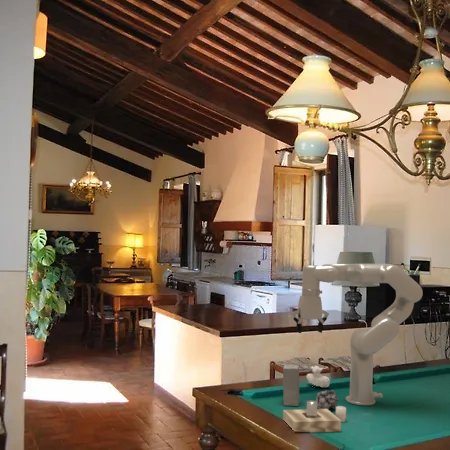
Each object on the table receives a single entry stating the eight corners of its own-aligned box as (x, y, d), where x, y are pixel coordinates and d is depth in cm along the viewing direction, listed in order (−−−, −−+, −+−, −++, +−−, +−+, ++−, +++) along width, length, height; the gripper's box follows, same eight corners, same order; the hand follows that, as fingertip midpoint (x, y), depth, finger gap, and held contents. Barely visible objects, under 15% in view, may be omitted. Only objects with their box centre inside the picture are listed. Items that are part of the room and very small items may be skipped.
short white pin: (343, 418, 229) (343, 405, 229) (347, 421, 225) (347, 409, 225) (333, 418, 229) (334, 406, 229) (337, 422, 225) (338, 409, 225)
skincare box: (298, 407, 242) (299, 369, 242) (281, 405, 243) (282, 367, 244) (299, 401, 250) (301, 364, 250) (283, 399, 252) (284, 363, 252)
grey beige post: (314, 423, 222) (315, 400, 222) (317, 427, 218) (319, 403, 218) (304, 424, 221) (305, 400, 221) (307, 427, 217) (309, 403, 217)
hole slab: (326, 418, 228) (327, 408, 228) (340, 431, 214) (341, 420, 214) (282, 420, 224) (283, 409, 224) (294, 433, 211) (294, 422, 211)
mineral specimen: (322, 407, 231) (325, 383, 236) (306, 409, 238) (309, 386, 243) (343, 418, 236) (346, 394, 241) (326, 420, 242) (330, 397, 248)
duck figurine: (305, 389, 278) (299, 373, 272) (311, 377, 283) (305, 361, 277) (328, 394, 271) (322, 377, 266) (334, 381, 276) (328, 365, 270)
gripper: (325, 292, 259) (324, 330, 259) (289, 292, 255) (287, 331, 255) (332, 294, 252) (331, 333, 252) (295, 294, 248) (294, 334, 247)
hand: (309, 332), depth 253 cm, fingers open, 9 cm apart
